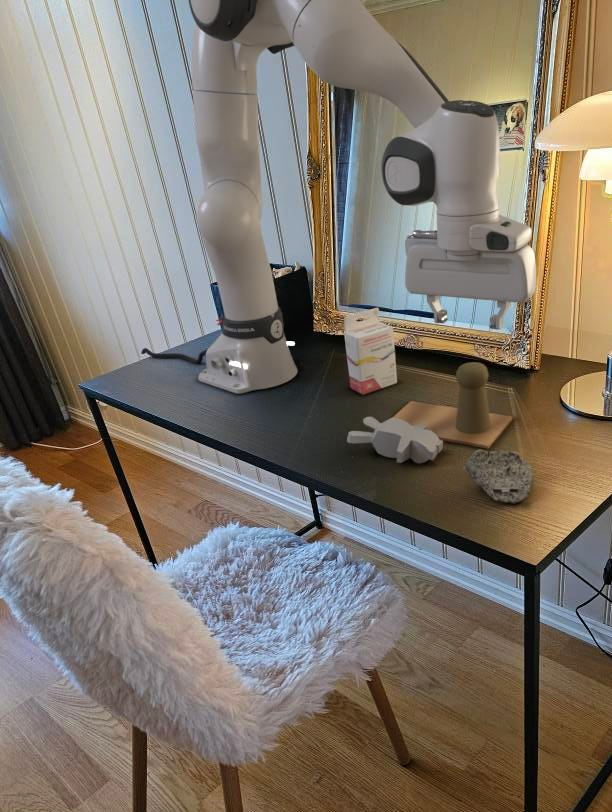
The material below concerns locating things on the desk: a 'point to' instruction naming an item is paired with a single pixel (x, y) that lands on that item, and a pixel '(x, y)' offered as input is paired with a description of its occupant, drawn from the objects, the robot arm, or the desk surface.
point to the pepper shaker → (472, 399)
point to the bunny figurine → (399, 440)
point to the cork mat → (451, 423)
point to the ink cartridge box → (369, 352)
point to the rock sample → (501, 474)
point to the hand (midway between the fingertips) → (468, 325)
